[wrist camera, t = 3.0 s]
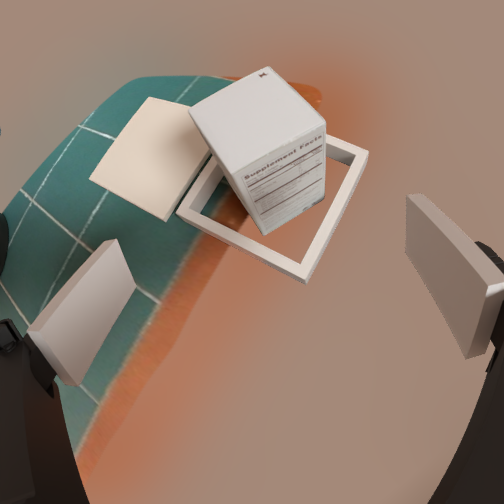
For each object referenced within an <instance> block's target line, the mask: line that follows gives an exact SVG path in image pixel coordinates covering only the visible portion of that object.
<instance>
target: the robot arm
mask: <svg viewBox="0 0 504 504" xmlns="http://www.w3.org/2000/svg"><path fill="white" fill-rule="evenodd" d="M0 134H1V129H0ZM7 247H8V225H7V221H6V219H5V217H4V216H3V214H1V213H0V275H1V272H2V269H3V266H4V263H5V258H6V254H7ZM405 253H406V254H407V256H408V257H409V259H410V260H411V262H412V264H413V265H414V267H415V268H416V270H417V272H418V273H419V275H420V277H421V278H422V280H423V282H424V283H425V285H426V287H427V288H428V290H429V292H430V293H431V295H432V297H433V298H434V300H435V302H436V304H437V306H438V307H439V309H440V311H441V313H442V314H443V316H444V318H445V320H446V322H447V324H448V326H449V327H450V329H451V331H452V333H453V335H454V337H455V339H456V341H457V343H458V345H459V347H460V349H461V351H462V353H463V355H464V357H465V359H469V358H472V357H476V356H479V355H482V354H485V352H486V350H487V347H488V345H489V342H490V339H491V341H492V343H493V345H494V346H495V351H494V353H493V356H492V358H491V360H490V362H489V365H488V367H487V369H486V372H487V375H486V379H485V382H484V385H483V388H482V391H481V393H480V396H479V399H478V402H477V404H476V407H475V410H474V412H473V415H472V417H471V420H470V422H469V424H468V427H467V429H466V431H465V434H464V436H463V438H462V440H461V443H460V445H459V447H458V449H457V451H456V453H455V455H454V457H453V459H452V461H451V463H450V465H449V467H448V469H447V471H446V473H445V475H444V476H443V478H442V480H441V482H440V484H439V485H438V487H437V489H436V490H435V492H434V494H433V495H432V497H431V499H430V500H429V502H428V504H504V261H503V260H502V259H501V258H500V257H498V255H497V254H496V253H495V252H494V251H493V250H492V249H491V248H490V247H488V246H487V245H485V244H483V243H481V242H479V241H478V242H473V241H472V240H471V239H470V238H469V237H468V236H467V235H466V234H465V233H464V232H463V231H462V230H461V229H460V228H459V227H458V226H457V225H456V224H455V223H454V222H453V221H452V220H451V219H450V218H448V217H447V216H446V215H445V214H444V213H443V212H442V211H441V210H440V209H439V208H438V207H437V206H435V205H434V204H433V203H432V202H431V201H430V200H429V199H428V198H427V197H425V196H424V195H423V194H422V193H421V194H412V195H406V248H405ZM136 287H137V286H136V284H135V282H134V279H133V277H132V275H131V273H130V270H129V268H128V265H127V263H126V261H125V258H124V256H123V253H122V251H121V248H120V246H119V243H118V241H117V239H113V240H108V241H104V242H103V243H102V244H101V245H100V246H99V247H98V248H97V249H96V251H95V252H94V253H93V254H92V255H91V256H90V257H89V258H88V259H87V260H86V261H85V262H84V263H83V265H82V266H81V267H80V268H79V269H78V270H77V271H76V272H75V273H74V274H73V276H72V277H71V278H70V279H69V280H68V281H67V282H66V284H65V285H64V286H63V287H62V288H61V289H60V290H59V292H58V293H57V294H56V295H55V296H54V297H53V299H52V300H51V301H50V302H49V303H48V305H47V306H46V307H45V308H44V309H43V311H42V312H41V313H40V314H39V316H38V317H37V318H36V319H35V321H34V322H33V323H32V324H31V326H30V327H29V328H28V330H27V334H26V335H25V336H24V338H23V337H22V336H21V334H20V333H19V331H18V330H17V328H16V327H15V325H14V324H13V322H12V320H11V319H4V320H1V321H0V504H90V503H89V501H88V498H87V495H86V492H85V490H84V487H83V484H82V481H81V478H80V475H79V471H78V468H77V465H76V462H75V458H74V455H73V451H72V448H71V444H70V440H69V436H68V432H67V428H66V423H65V419H64V414H63V410H62V405H61V400H60V394H59V389H58V386H57V384H56V383H55V381H54V378H55V376H56V375H58V376H59V378H60V379H61V380H62V381H63V383H64V384H65V385H70V386H78V387H79V385H80V383H81V381H82V379H83V378H84V376H85V374H86V372H87V370H88V368H89V367H90V365H91V363H92V361H93V359H94V358H95V356H96V354H97V352H98V350H99V349H100V347H101V345H102V343H103V342H104V340H105V338H106V336H107V335H108V333H109V331H110V330H111V328H112V326H113V324H114V323H115V321H116V319H117V318H118V316H119V314H120V313H121V311H122V309H123V308H124V306H125V304H126V303H127V301H128V300H129V298H130V296H131V295H132V293H133V291H134V290H135V288H136Z"/></svg>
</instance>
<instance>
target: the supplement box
mask: <svg viewBox="0 0 504 504" xmlns="http://www.w3.org/2000/svg"><path fill="white" fill-rule="evenodd" d="M188 113H189V115H190V117H191V118H192V120H193V122H194V124H195V125H196V127H197V129H198V131H199V132H200V134H201V136H202V137H203V139H204V141H205V143H206V144H207V146H208V148H209V149H210V151H211V153H212V155H213V156H214V158H215V160H216V161H217V163H218V165H219V167H220V168H221V170H222V172H223V174H224V175H225V177H226V179H227V180H228V182H229V184H230V185H231V187H232V188H233V190H234V192H235V193H236V195H237V196H238V198H239V199H240V201H241V202H242V204H243V206H244V207H245V209H246V210H247V212H248V213H249V215H250V216H251V218H252V219H253V221H254V222H255V224H256V225H257V227H258V229H259V230H260V232H261V233H262V235H263V236H265V235H266V234H268V233H269V232H271V231H273V230H275V229H276V228H278V227H279V226H281V225H283V224H285V223H286V222H288V221H289V220H291V219H293V218H294V217H296V216H298V215H299V214H301V213H302V212H304V211H306V210H307V209H309V208H311V207H312V206H314V205H315V204H317V203H319V202H320V201H322V200H323V199H324V194H325V162H326V121H325V120H324V119H323V117H321V116H320V114H319V113H318V112H317V111H316V110H315V109H314V108H313V107H312V106H311V105H310V104H309V103H308V102H307V101H306V100H305V99H304V98H302V97H301V96H300V95H299V94H298V93H297V92H296V90H295V89H294V88H292V87H291V86H290V85H289V84H288V83H287V82H286V81H285V80H283V79H282V78H281V77H280V76H279V75H278V74H277V73H276V72H274V70H272V68H270V67H269V66H268V67H265V68H263V69H261V70H258V71H256V72H254V73H252V74H250V75H248V76H246V77H244V78H242V79H240V80H238V81H236V82H234V83H233V84H231V85H229V86H227V87H225V88H223V89H222V90H220V91H218V92H216V93H214V94H213V95H211V96H209V97H207V98H206V99H204V100H202V101H200V102H199V103H197V104H195V105H194V106H192V107H191V108H189V109H188Z"/></svg>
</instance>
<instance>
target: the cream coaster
mask: <svg viewBox="0 0 504 504" xmlns="http://www.w3.org/2000/svg"><path fill="white" fill-rule="evenodd" d="M189 108H191V107H189V106H185V105H181V104H177V103H173V102H169V101H165V100H161V99H156V98H152V97H148V99H147V100H146V101H145V102H144V103H143V105H142V106H141V107H140V108H139V110H138V111H137V112H136V113H135V115H134V116H133V117H132V118H131V120H130V121H129V122H128V124H127V125H126V126H125V128H124V129H123V130H122V132H121V133H120V134H119V136H118V137H117V138H116V140H115V141H114V143H113V144H112V145H111V147H110V148H109V150H108V151H107V152H106V154H105V155H104V157H103V158H102V160H101V161H100V163H99V164H98V166H97V167H96V169H95V170H94V172H93V173H92V175H91V176H90V178H89V179H90V180H91V181H92V182H94V183H96V184H98V185H99V186H101V187H103V188H105V189H107V190H108V191H110V192H112V193H114V194H116V195H117V196H119V197H121V198H123V199H125V200H126V201H128V202H130V203H132V204H134V205H135V206H137V207H139V208H141V209H143V210H144V211H146V212H148V213H150V214H152V215H154V216H155V217H157V218H159V219H161V220H163V221H165V222H167V220H168V219H169V217H170V215H171V214H172V212H173V211H174V209H175V207H176V206H177V204H178V203H179V201H180V199H181V198H182V196H183V195H184V193H185V192H186V190H187V189H188V187H189V185H190V184H191V182H192V181H193V179H194V178H195V176H196V175H197V173H198V172H199V170H200V169H201V167H202V166H203V164H204V163H205V161H206V160H207V158H208V157H209V155H210V154H211V151H210V149H209V148H208V146H207V144H206V143H205V141H204V139H203V137H202V136H201V134H200V132H199V131H198V129H197V127H196V125H195V124H194V122H193V120H192V118H191V117H190V115H189V113H188V109H189Z"/></svg>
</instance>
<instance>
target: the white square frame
mask: <svg viewBox="0 0 504 504" xmlns="http://www.w3.org/2000/svg"><path fill="white" fill-rule="evenodd" d="M368 154H369V152H368V151H367V150H364V149H362V148H360V147H357V146H355V145H352V144H350V143H348V142H345V141H342V140H340V139H338V138H335V137H332V136H330V135H327V134H326V156H327V157H329V158H332V159H334V160H337V161H339V162H341V163H344V164H346V165H348V166H351V167H350V169H349V171H348V173H347V175H346V177H345V179H344V181H343V183H342V185H341V187H340V189H339V191H338V193H337V195H336V197H335V199H334V201H333V203H332V205H331V207H330V209H329V211H328V213H327V214H326V217H325V218H324V220H323V222H322V224H321V226H320V228H319V230H318V232H317V234H316V236H315V238H314V239H313V241H312V243H311V245H310V247H309V249H308V251H307V253H306V255H305V256H304V258H303V260H302V262H301V264H299V263H297V262H295V261H293V260H291V259H289V258H287V257H285V256H283V255H281V254H279V253H277V252H275V251H273V250H271V249H269V248H267V247H265V246H263V245H261V244H259V243H257V242H255V241H253V240H251V239H249V238H247V237H245V236H243V235H241V234H239V233H238V232H236V231H234V230H232V229H230V228H228V227H226V226H224V225H222V224H219V223H217V222H215V221H213V220H211V219H209V218H207V217H205V216H203V215H201V214H200V212H201V211H202V209H203V208H204V206H205V204H206V203H207V201H208V200H209V198H210V196H211V195H212V193H213V192H214V190H215V189H216V187H217V185H218V184H219V182H220V181H221V179H222V178H223V176H224V174H223V172H222V170H221V168H220V167H219V165H218V163H217V161H216V160H215V158H214V156H212V157H211V159H210V160H209V162H208V163H207V165H206V166H205V168H204V169H203V171H202V172H201V174H200V175H199V177H198V178H197V180H196V181H195V183H194V184H193V186H192V188H191V189H190V191H189V192H188V194H187V195H186V197H185V198H184V200H183V202H182V203H181V205H180V206H179V208H178V209H177V211H176V214H177V215H178V216H179V217H180V218H181V219H183V220H184V221H185V222H186V223H188V224H190V225H192V226H194V227H196V228H198V229H200V230H202V231H203V232H205V233H207V234H209V235H211V236H213V237H215V238H217V239H219V240H221V241H223V242H224V243H226V244H228V245H230V246H232V247H234V248H236V249H238V250H240V251H242V252H244V253H246V254H248V255H250V256H251V257H253V258H255V259H257V260H259V261H261V262H263V263H265V264H267V265H269V266H270V267H273V268H275V269H276V270H278V271H280V272H282V273H284V274H286V275H288V276H290V277H292V278H294V279H295V280H297V281H299V282H301V283H303V284H305V285H306V284H307V282H308V280H309V278H310V277H311V275H312V273H313V271H314V269H315V267H316V265H317V263H318V262H319V260H320V258H321V256H322V254H323V252H324V250H325V248H326V246H327V244H328V242H329V240H330V238H331V236H332V234H333V232H334V230H335V228H336V226H337V224H338V222H339V220H340V218H341V216H342V214H343V212H344V210H345V208H346V206H347V204H348V202H349V200H350V198H351V196H352V194H353V191H354V190H355V187H356V185H357V183H358V181H359V179H360V177H361V175H362V172H363V170H364V168H365V166H366V163H367V159H368Z"/></svg>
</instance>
